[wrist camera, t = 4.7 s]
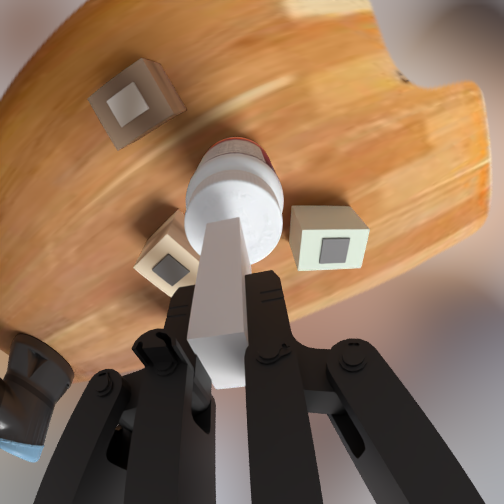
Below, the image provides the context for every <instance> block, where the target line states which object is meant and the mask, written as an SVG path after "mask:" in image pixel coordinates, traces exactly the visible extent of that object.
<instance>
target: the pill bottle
mask: <svg viewBox="0 0 504 504" xmlns="http://www.w3.org/2000/svg"><path fill="white" fill-rule="evenodd" d="M283 204H284V197H283V190H282V186H281V183H280V181H279V178H278V177H277V175H276V173H275V170H274V168H273V166H272V164H271V161H270V159H269V157H268V155H267V154H266V152H265V151H264V150H263V148H262V147H261V146H259V145H258V144H257V143H255V142H254V141H252V140H249V139H246V138H242V137H230V138H226V139H223V140H220V141H219V142H217V143H215V144H214V145H213V146H212V147H210V149H209V150H208V151H207V152H206V154H205V155H204V157H203V158H202V160H201V162H200V164H199V165H198V167H197V169H196V171H195V173H194V175H193V176H192V178H191V180H190V183H189V185H188V188H187V192H186V213H185V218H184V228H185V233H186V236H187V239H188V241H189V243H190V245H191V246H192V248H193V249H194V250H195V251H196V252H197V253H198V254H199V255H201V250H202V245H203V240H204V235H205V229H206V224H207V223H211V222H216V221H221V220H226V219H231V218H236V217H240V221H241V226H242V230H243V234H244V239H245V243H246V247H247V252H248V256H249V260H250V265H251V264H254V263H256V262H258V261H260V260H262V259H263V258H265V257H266V256H267V255H268V254H269V253H271V251H272V250H273V249H274V248H275V246H276V245H277V243H278V241H279V239H280V236H281V232H282V226H283V220H282V211H283Z"/></svg>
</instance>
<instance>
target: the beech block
mask: <svg viewBox="0 0 504 504" xmlns="http://www.w3.org/2000/svg"><path fill="white" fill-rule="evenodd" d="M184 218H185V214H184V213H183V212H181V211H180V210H179V209H178V210H177V211H176V212H175V213H174V214H173V215H172V216H171V217H170V218H169V219H168V220H167V221H166V222H165V223H164V224H163V225H162V226H161V227H160V228H159V229H158V230H157V231H156V232H155V233H154V234H153V235H152V236H151V237H150V238H149V239H148V240H147V242H146V244H145V246H144V248H143V249H142V251H141V253H140V255H139V257H138V259H137V261H136V263H135V265H134V267H133V268H134V269H135V270H136V271H138V272H139V273H140V274H141V275H143V276H144V277H145V278H146V279H148V280H149V281H150V282H151V283H153V284H154V285H155V286H157V287H158V288H159V289H160V290H162V291H163V292H164V293H166V294H167V295H168V296H170V297H172V296H173V294H174V293H175V292H176V290H177V289H178V288H179V287H183V286H190V285H195V284H196V278H197V272H198V266H199V261H200V255H199V254H198V253H197V252H196V251H195V250H194V249H193V248H192V246H191V245H190V243H189V241H188V239H187V236H186V233H185V228H184Z"/></svg>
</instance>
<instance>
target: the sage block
mask: <svg viewBox="0 0 504 504" xmlns="http://www.w3.org/2000/svg"><path fill="white" fill-rule="evenodd" d="M369 231H370V229H369V228H368V227H367V225H366V224H365V223H364V222H363V221H362V219H361V218H360V217H359V216H358V215H357V214H356V212H355V211H354V210H353V209H352V208H351V207H350V206H291V221H290V235H289V244H290V247H291V250H292V253H293V256H294V259H295V263H296V266H297V269H298V271H307V270H330V269H350V268H361V265H362V261H363V257H364V253H365V249H366V244H367V240H368V235H369Z"/></svg>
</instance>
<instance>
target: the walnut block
mask: <svg viewBox="0 0 504 504" xmlns="http://www.w3.org/2000/svg"><path fill="white" fill-rule="evenodd" d="M88 101H89V103H90V104H91V106H92V108H93V110H94V111H95V113H96V115H97V117H98V118H99V120H100V122H101V124H102V125H103V127H104V129H105V130H106V132H107V134H108V136H109V137H110V139H111V141H112V142H113V144H114V146H115V147H116V149H117V150H120V149H122V148H124V147H126V146H127V145H129V144H131V143H133V142H135V141H137V140H139V139H140V138H142V137H143V136H145V135H146V134H148V133H149V132H151V131H153V130H154V129H156V128H157V127H159V126H160V125H162V124H164V123H165V122H167V121H169V120H170V119H172V118H174V117H175V116H177V115H179V114H180V113H182V112H184V111H186V110H187V109H186V107H185V106H184V104H183V102H182V100H181V99H180V97H179V95H178V93H177V92H176V90H175V88H174V86H173V85H172V83H171V81H170V79H169V78H168V76H167V74H166V73H165V71H164V69H163V67H162V66H161V64H159V63H156V62H153V61H150V60H147V59H144V58H141V59H139V60H138V61H136V62H135V63H133V64H132V65H130V66H129V67H127V68H126V69H125V70H123V71H122V72H120V73H119V74H118V75H116V76H115V77H114V78H112V79H111V80H110V81H108V82H107V83H106V84H105V85H103V86H102V87H101V88H100V89H98V90H97V91H96V92H95V93H93V94H92V95H91V96H90V97H89V98H88Z"/></svg>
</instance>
